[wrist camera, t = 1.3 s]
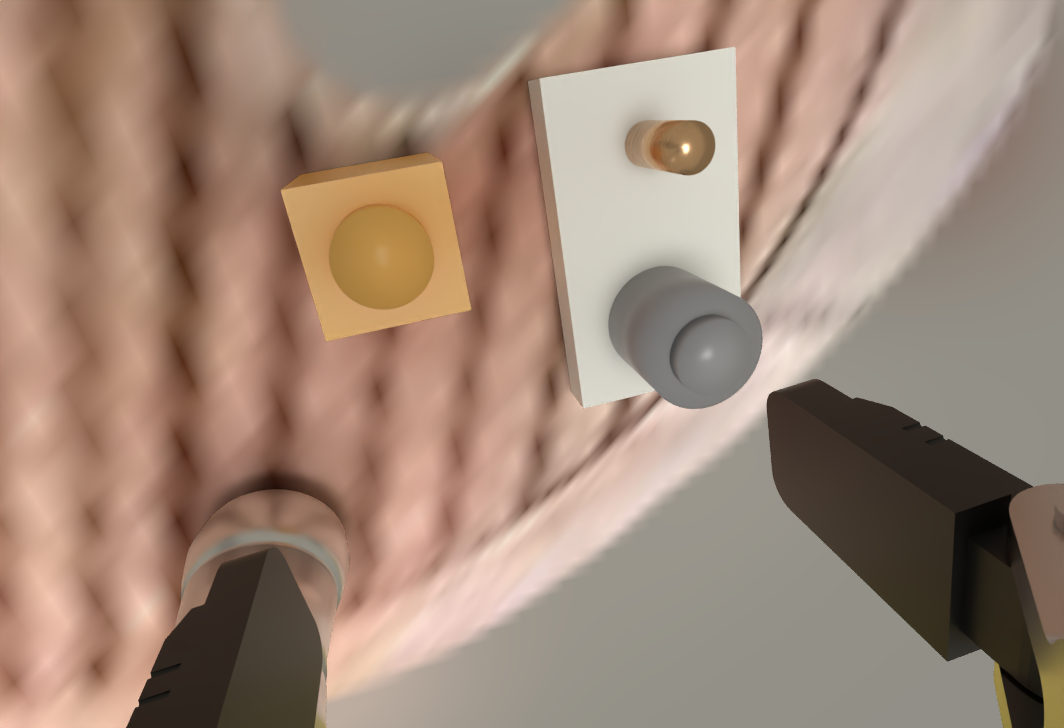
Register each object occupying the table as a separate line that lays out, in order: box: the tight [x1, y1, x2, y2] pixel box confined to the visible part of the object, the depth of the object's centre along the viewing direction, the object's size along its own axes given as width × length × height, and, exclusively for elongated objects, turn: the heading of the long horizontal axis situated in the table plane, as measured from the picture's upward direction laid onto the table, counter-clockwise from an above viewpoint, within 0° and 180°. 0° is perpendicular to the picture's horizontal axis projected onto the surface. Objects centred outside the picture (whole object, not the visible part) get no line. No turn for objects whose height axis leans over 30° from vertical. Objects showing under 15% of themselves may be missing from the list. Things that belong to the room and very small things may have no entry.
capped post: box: [608, 266, 763, 409], centre depth 26 cm, size 5×5×5 cm
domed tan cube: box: [281, 152, 471, 341], centre depth 23 cm, size 5×5×7 cm
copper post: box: [625, 120, 715, 176], centre depth 23 cm, size 2×2×4 cm
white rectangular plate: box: [528, 47, 741, 409], centre depth 28 cm, size 8×14×2 cm, turn 9°
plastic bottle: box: [174, 489, 350, 728], centre depth 21 cm, size 6×7×20 cm
